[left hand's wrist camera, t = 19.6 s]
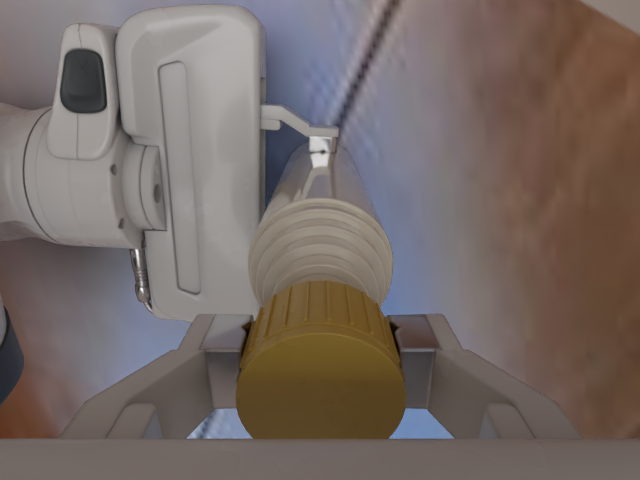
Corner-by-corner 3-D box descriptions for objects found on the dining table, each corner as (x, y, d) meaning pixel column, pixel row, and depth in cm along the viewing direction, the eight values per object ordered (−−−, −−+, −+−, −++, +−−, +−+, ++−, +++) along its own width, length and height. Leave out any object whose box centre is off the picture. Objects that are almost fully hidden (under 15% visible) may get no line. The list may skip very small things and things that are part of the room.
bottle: (355, 208, 31) (432, 466, 10) (287, 210, 31) (218, 471, 10) (355, 137, 29) (452, 274, 8) (282, 140, 29) (180, 283, 8)
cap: (229, 299, 10) (204, 357, 8) (371, 260, 10) (386, 310, 7) (278, 405, 11) (268, 480, 9) (404, 375, 11) (424, 446, 9)
